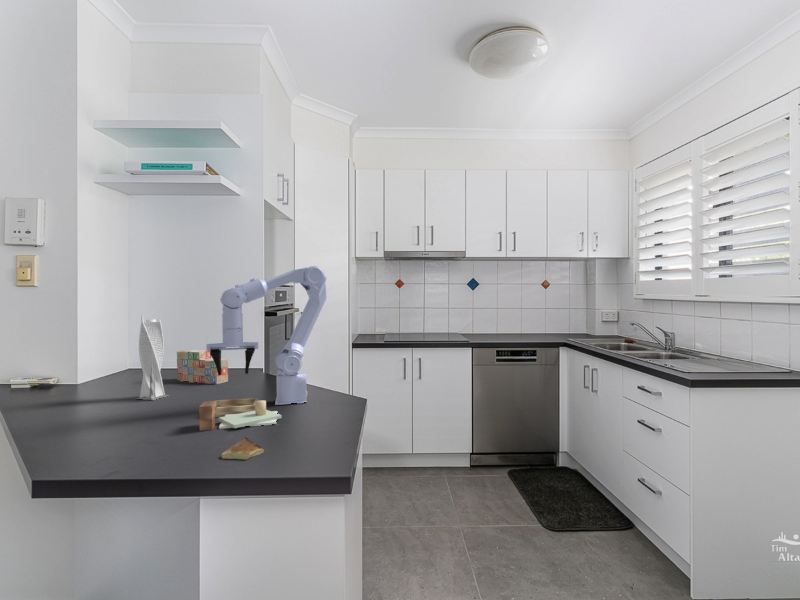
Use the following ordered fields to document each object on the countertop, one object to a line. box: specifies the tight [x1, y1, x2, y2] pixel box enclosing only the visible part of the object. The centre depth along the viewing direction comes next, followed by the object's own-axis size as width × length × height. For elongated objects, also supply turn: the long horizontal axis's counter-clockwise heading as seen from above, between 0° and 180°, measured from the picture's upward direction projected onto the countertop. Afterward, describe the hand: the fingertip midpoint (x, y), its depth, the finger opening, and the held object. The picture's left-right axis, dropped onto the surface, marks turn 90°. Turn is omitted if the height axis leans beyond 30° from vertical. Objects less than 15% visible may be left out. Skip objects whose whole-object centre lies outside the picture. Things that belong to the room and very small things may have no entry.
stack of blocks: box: [176, 349, 229, 385], centre depth 181 cm, size 21×6×12 cm, turn 66°
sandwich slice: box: [221, 437, 265, 461], centre depth 98 cm, size 11×8×2 cm
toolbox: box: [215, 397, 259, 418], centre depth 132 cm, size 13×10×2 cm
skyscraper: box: [135, 314, 170, 401], centre depth 152 cm, size 8×8×28 cm
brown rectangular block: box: [198, 400, 217, 432], centre depth 117 cm, size 3×7×6 cm, turn 14°
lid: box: [218, 399, 283, 429], centre depth 121 cm, size 13×10×4 cm
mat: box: [218, 410, 279, 430], centre depth 122 cm, size 14×12×1 cm
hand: (233, 373), depth 136 cm, fingers open, 7 cm apart
